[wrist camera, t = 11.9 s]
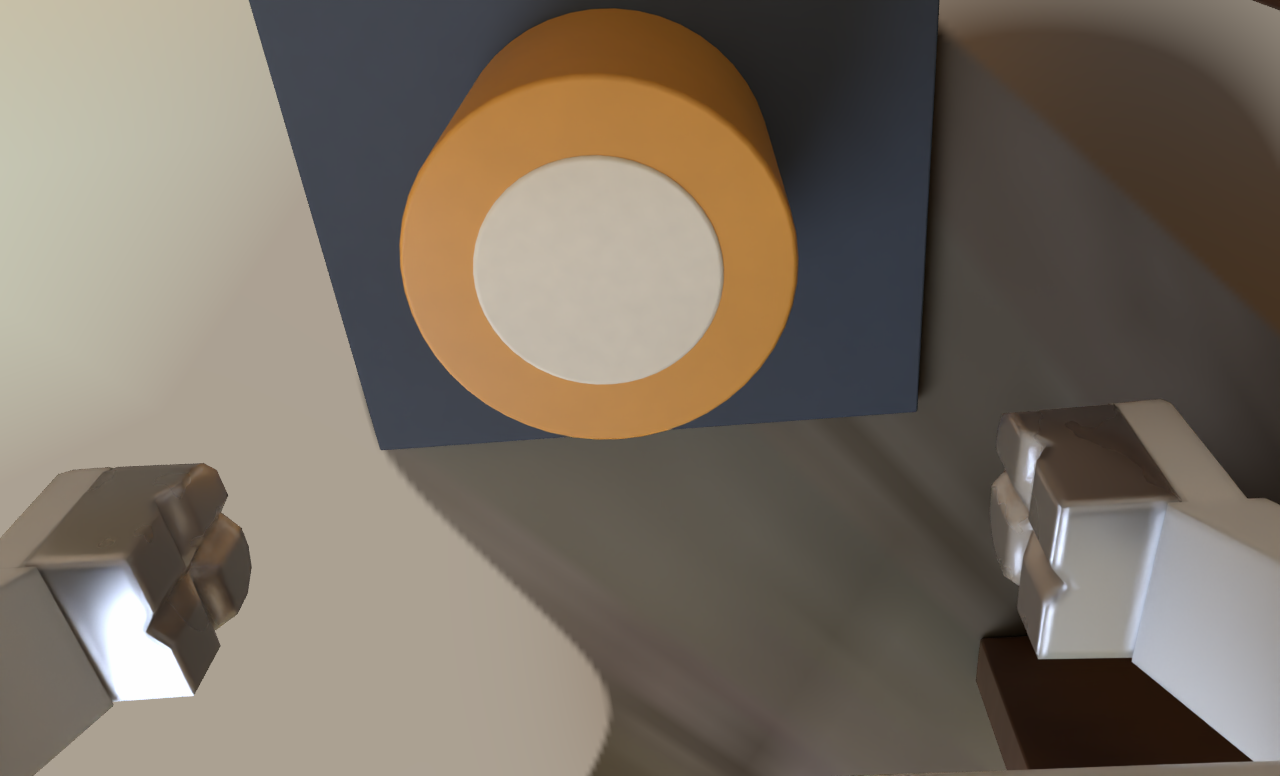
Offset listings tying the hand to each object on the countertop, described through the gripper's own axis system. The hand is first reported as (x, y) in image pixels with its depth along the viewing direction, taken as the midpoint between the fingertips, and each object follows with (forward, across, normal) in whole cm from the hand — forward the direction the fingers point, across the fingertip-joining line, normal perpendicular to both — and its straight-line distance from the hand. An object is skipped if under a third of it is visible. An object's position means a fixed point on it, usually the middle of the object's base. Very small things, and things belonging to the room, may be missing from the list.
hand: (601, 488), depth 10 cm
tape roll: (+10, 0, 0) cm, 10 cm away
